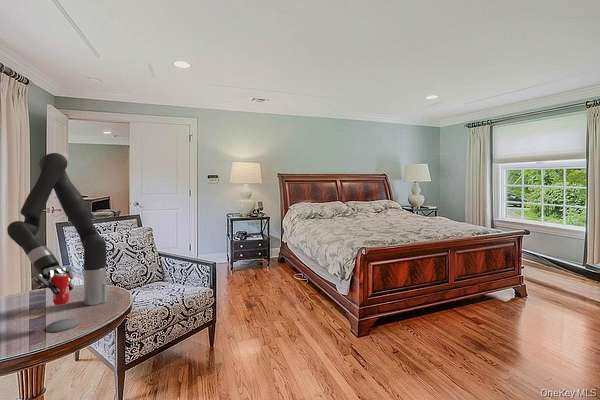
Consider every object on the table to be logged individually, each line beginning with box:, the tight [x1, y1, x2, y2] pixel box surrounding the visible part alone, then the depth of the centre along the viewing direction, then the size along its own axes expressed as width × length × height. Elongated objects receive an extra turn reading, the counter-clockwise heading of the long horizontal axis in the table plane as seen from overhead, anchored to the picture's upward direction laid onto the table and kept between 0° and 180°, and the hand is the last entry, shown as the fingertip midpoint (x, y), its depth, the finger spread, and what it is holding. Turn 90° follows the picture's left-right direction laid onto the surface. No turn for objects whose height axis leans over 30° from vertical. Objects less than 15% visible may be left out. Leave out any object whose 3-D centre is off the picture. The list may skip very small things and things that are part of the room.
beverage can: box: [52, 272, 70, 306], centre depth 127 cm, size 5×5×12 cm
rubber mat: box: [45, 318, 80, 333], centre depth 129 cm, size 11×11×1 cm
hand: (65, 291), depth 127 cm, fingers closed on beverage can, 5 cm apart
